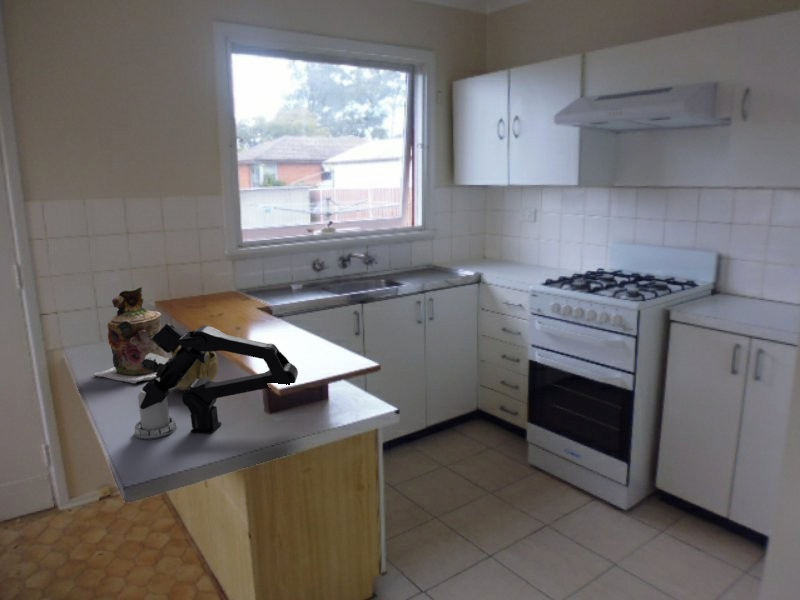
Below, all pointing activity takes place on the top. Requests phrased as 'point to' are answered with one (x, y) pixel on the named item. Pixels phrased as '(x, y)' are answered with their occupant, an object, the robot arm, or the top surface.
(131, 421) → the top surface
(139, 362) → the cookie jar
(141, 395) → the can
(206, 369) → the ceramic bowl
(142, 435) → the rosette plate
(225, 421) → the top surface
